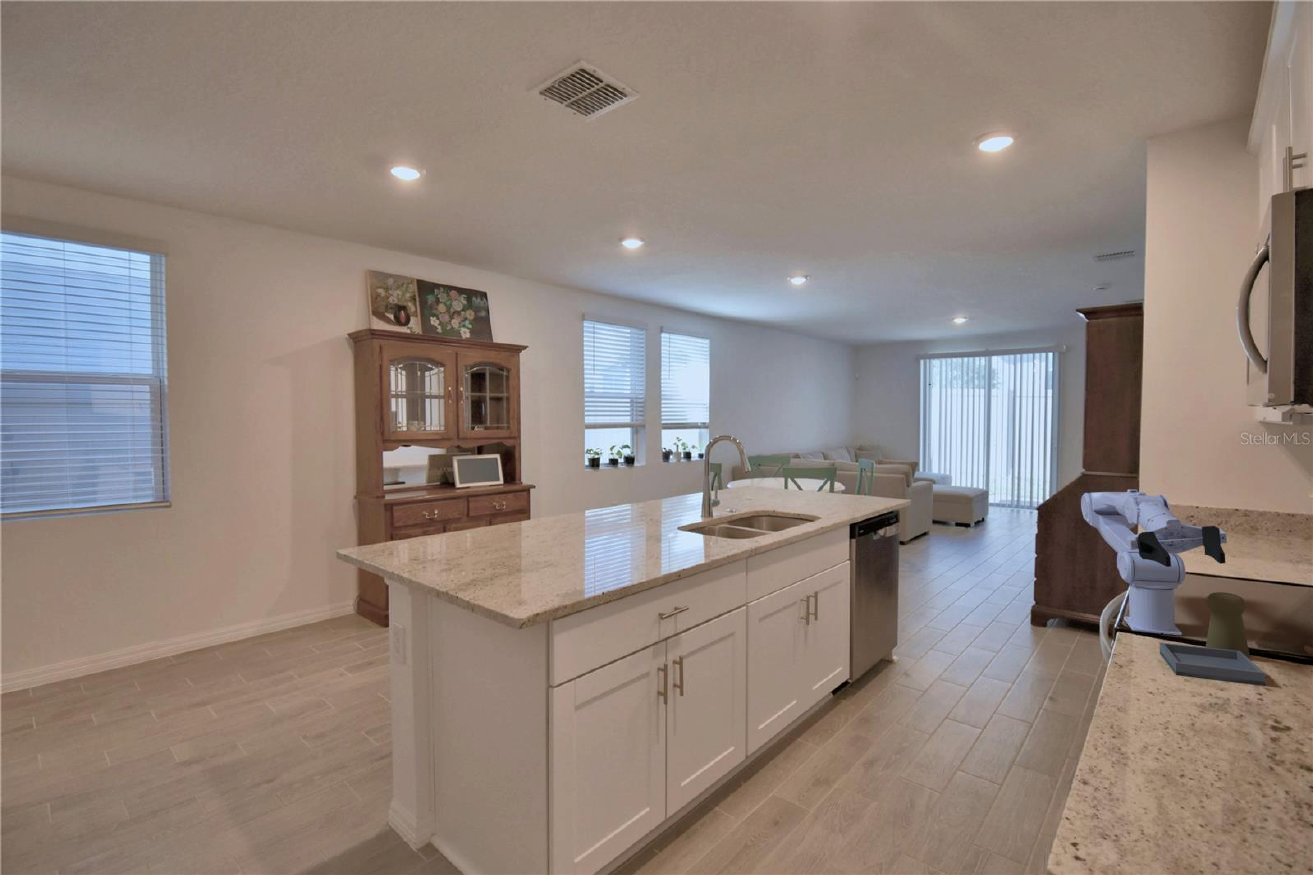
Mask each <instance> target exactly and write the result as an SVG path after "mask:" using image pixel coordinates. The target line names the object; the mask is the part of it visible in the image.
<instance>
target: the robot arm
mask: <svg viewBox="0 0 1313 875" xmlns="http://www.w3.org/2000/svg"><path fill="white" fill-rule="evenodd" d="M1169 504H1170V503H1169V502H1168V499H1167V497H1166V496H1164V495H1163V494H1158V495H1147V494H1146V492H1143V491H1142V492H1139V490H1138V489H1131V488H1130V489H1127V491H1099V492H1097V491H1096V492H1090V493H1089V492H1084V493H1083V495H1082V496H1081V499H1080V510H1081V512H1082V517H1083V519H1084V520H1085V521H1086V522H1087V523H1088V524H1089V525H1090V526H1091V527H1093V528H1094V529H1097V531H1098V532H1099V534H1100V535H1101V537H1102V538H1103V539H1104V541H1105V542H1106V543H1107V544H1108V545H1109V546H1110V547H1111V548H1112V549H1113V550H1114V552H1116V553H1117V555H1116V567H1117V570H1118V571H1119V575H1120V577H1121V578H1122V580H1124V582H1125V583H1128V584H1129V589H1128V606H1129V607H1128V608H1129V610H1128V612H1129V616H1124V617H1123V619H1124V620H1125V622H1126V624H1127V625H1128V626H1129V628H1130V629H1131V631H1133V632H1141V633H1153V634H1161V633H1163V634H1162V635H1171V634H1172V636H1173V635H1175V636H1182V635H1183V633H1182V632H1181V630H1180V629H1179V628H1178V627H1177V626H1176V611H1175V610H1176V609H1175V608H1176V606H1175V590H1176V589H1178V587H1179V585H1182V583H1183V582H1184V581H1185V578H1186V566H1185V563H1184V560H1183V558H1182V557H1180V555H1179V554H1181V553H1184V552H1185V553H1186V552H1188V551H1191V550H1194V549H1196V548H1199V547H1202V546H1203V547H1204V548H1203V550H1204V555H1205V556H1208V557H1211V558H1212V559H1214V560H1215V561H1216V562H1217V563H1218V564H1221V565H1223V564H1226V552H1225V551H1224V550H1223V547H1222V544H1227V538H1228V537H1227V533H1226V532H1225V531H1224V530H1223V529H1222V528H1218V527H1217V526H1215V525H1208V526H1207V525H1204V526H1201V527H1200V526H1197V525H1191V524H1186V523H1183V522H1182V521H1181V520H1180V519H1179V518H1178V517H1177V516H1175V514H1174V513H1172V512H1171V511H1170V510H1171V509H1170V505H1169ZM1136 525H1139V526H1140V527H1141V528H1142V530H1144V531H1142V532H1139V533H1138V534H1136V533H1134V532H1132V530H1131V529H1133V528H1135V527H1136Z"/></svg>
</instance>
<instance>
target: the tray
mask: <svg viewBox="0 0 1313 875" xmlns="http://www.w3.org/2000/svg"><path fill="white" fill-rule="evenodd" d="M1159 654H1160V656H1161V657H1162V658H1163V659H1164V661H1165V662H1166V664H1167V665H1168V666H1169V668H1170V669H1171V670H1172V671H1173V673H1174V674H1175V675H1176V676H1185V677H1192V678H1199V679H1206V680H1216V681H1224V682H1233V683H1240V684H1248V685H1256V686H1257V685H1258V686H1265V687H1266V672H1265V671H1264V670H1263V669H1261V668H1260V667H1259V666H1257V665H1256V664H1255V663H1254V662H1253V661H1252V660H1251V658H1250V659H1249V658H1247V657H1246V656H1245V655H1244V654H1243V653H1242V652H1241V651H1236V650H1226V649H1217V648H1207V647H1206V646H1197V645H1188V644H1187V645H1186V644H1179V643H1178V644H1177V643H1169V642H1168V643H1167V642H1159Z"/></svg>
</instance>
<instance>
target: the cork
mask: <svg viewBox="0 0 1313 875" xmlns="http://www.w3.org/2000/svg"><path fill="white" fill-rule="evenodd" d="M1206 605H1207V607H1208V608H1209V609H1210V616H1209V623H1208V630H1207V638H1206V643H1205V647H1207V648H1217V649H1226V650H1236V651H1241V652H1242V653H1243V654H1244V655H1245V656H1246V657H1247V658H1249V659H1250V660H1251V656H1250V649H1249V646H1248V645H1249V644H1248V639H1247V634H1246V630H1245V625H1244V620H1243V615H1242V614H1243V613H1244V612H1245V609H1246V602H1245V599H1244V598H1243V597H1241V596H1240V595H1238V594H1233V593H1230V592H1212V593H1209V595H1207V598H1206Z"/></svg>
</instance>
